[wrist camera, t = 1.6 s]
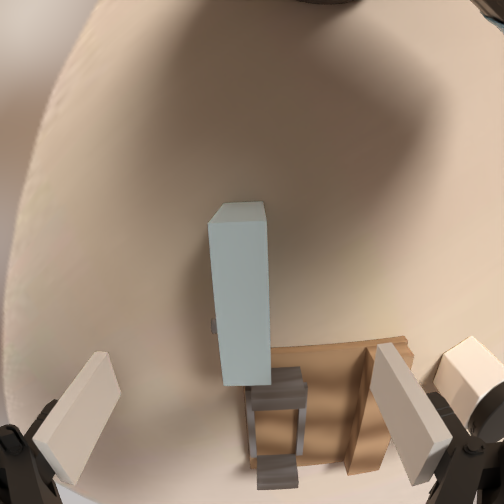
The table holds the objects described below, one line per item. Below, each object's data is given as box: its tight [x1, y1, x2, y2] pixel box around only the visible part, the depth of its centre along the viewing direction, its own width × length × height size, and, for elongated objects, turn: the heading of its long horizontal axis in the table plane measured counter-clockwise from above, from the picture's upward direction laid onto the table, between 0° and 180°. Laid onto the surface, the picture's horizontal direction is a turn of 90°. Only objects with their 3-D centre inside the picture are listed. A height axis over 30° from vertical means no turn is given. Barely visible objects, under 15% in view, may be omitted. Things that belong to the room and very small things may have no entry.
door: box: [208, 201, 271, 386], centre depth 26 cm, size 12×4×10 cm, turn 3°
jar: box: [433, 336, 504, 443], centre depth 28 cm, size 9×8×12 cm
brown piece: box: [243, 336, 414, 490], centre depth 32 cm, size 20×18×6 cm
